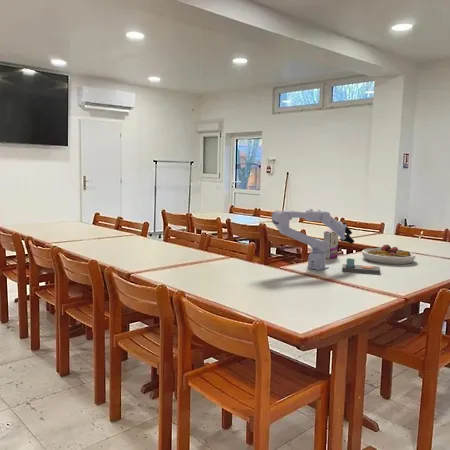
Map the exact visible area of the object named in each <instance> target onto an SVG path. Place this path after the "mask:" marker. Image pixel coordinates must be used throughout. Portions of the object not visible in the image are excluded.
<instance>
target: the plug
mask: <svg viewBox="0 0 450 450" xmlns="http://www.w3.org/2000/svg"><path fill="white" fill-rule="evenodd" d="M346 264H347V265H346V267H353V268H354V265H355V258H346Z"/></svg>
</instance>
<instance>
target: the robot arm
mask: <svg viewBox="0 0 450 450" xmlns="http://www.w3.org/2000/svg"><path fill="white" fill-rule="evenodd" d="M293 218H294V219H295V218H297V219H304V220H306V221H307V222H310V221H311V222H321V223H323V225H325V226H326V227H328V228H329V229H330V230H333V231H334V232H336V233H337V235H338V238H339V239H340V242H345V243H348V244H351V245H352V244H354V243H355V240H354V239H353V238H352V236H351V235H352V234H353V231H352V230H351V229H350V228H349V226H348V225H347V223H346V222H342V221H341V220H337V219H336V218H334V217H333V216H331V213H330V212H327V211H324V210H320V209H318V210H314V209H311V208H309V209H307V210H305V211H296V210H287V209H286V210H284V209H282V210H274V211H273V212H272V213H271V221H272V222H271V223H272V224H273V225H274V226H275V227H276V229H277V231H279V233H280V234H281V235H284V236H286V237H288V238H290V239H294V240H296V241H299V242H300V243H303V244H306V245H308V246H310V247H311V250H312V252H311V253H309V255H308V259H307V266H306V268H308V269H313V270H316V271H319V270H320V271H321V270H324V269H328V268H329V266H327V265H326V261H327V260H326V251H327V250H328V248H329V244H328V242H327V241H324V239H323V240H322V239H319V238H317V237H315V238H314V237H312V236H310V235H307V234H305V233H303V232H300V231H298V230H296V229H294V228H292V227H290V221H291V220H293Z"/></svg>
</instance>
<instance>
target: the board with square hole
mask: <svg viewBox="0 0 450 450" xmlns="http://www.w3.org/2000/svg"><path fill="white" fill-rule="evenodd" d="M346 265H347V263H343V264H342V268H341V272H345V273H346V272H347V273H355V274H356V273H358V274H371V275H372V274H373V275H381V267H380V266H373V265H371V266H372V267H375V269H364V268H361V266H364V265H363V264H362V265H361V264H354V268H353V267H346Z"/></svg>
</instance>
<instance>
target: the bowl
mask: <svg viewBox="0 0 450 450" xmlns="http://www.w3.org/2000/svg"><path fill="white" fill-rule="evenodd" d="M361 253H362V256H363V258H364V259H365V260H366V261H370V262H373V263H376V264H385V265H409V264H410V263H413V262H414V261H415V259H416V253H414V252H413V251H409V250H408V251H407V250H403V249H399V248H398V247H397V246H393V247H391V245H389V244H384V245H382V246H381V247H380V248H379V247H377V248H365V249H363V250H362V251H361Z"/></svg>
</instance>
